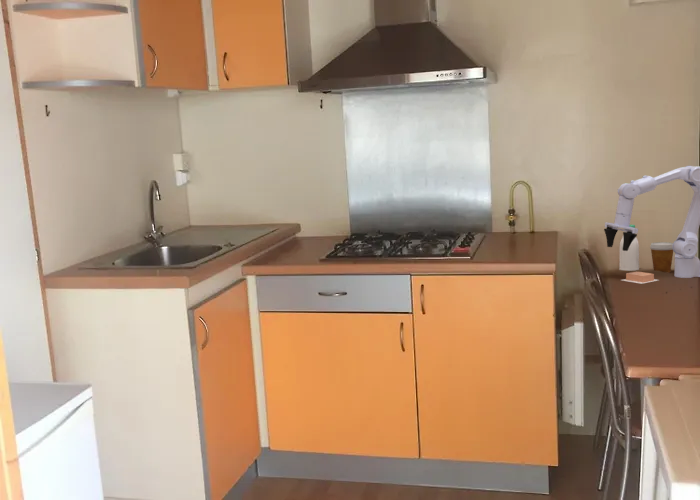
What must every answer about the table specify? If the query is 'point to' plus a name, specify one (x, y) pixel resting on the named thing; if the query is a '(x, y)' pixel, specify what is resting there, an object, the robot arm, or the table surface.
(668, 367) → the table surface
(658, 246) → the disposable coffee cup
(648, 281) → the white riser
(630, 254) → the milk bottle
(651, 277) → the terracotta tile
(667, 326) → the table surface
